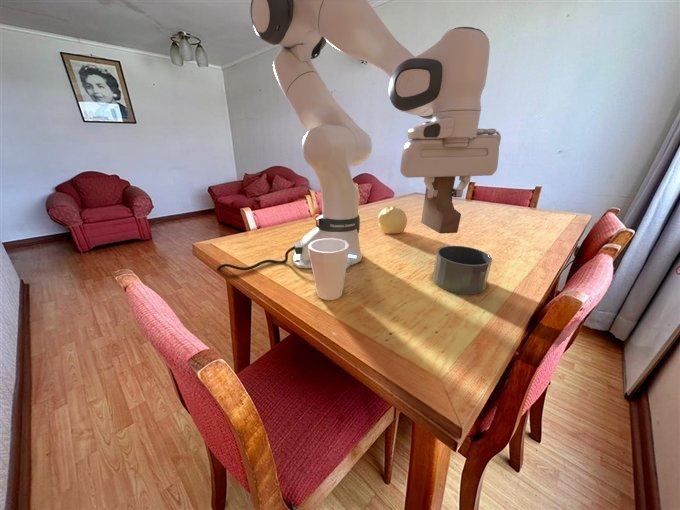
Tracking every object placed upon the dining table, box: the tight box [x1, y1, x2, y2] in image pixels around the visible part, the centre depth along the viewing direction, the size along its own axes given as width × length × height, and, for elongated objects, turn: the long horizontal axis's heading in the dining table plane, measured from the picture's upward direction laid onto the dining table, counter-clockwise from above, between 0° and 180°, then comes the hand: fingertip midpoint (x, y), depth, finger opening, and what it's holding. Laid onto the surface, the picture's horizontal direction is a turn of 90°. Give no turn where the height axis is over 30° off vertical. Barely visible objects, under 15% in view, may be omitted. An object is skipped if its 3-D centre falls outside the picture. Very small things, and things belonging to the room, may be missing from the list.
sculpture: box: [377, 205, 408, 234], centre depth 109 cm, size 11×12×11 cm
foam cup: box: [308, 238, 349, 301], centre depth 64 cm, size 10×9×13 cm
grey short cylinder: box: [432, 244, 493, 296], centre depth 71 cm, size 17×13×8 cm
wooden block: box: [420, 176, 462, 234], centre depth 59 cm, size 9×4×18 cm, turn 12°
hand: (444, 197), depth 59 cm, fingers closed on wooden block, 4 cm apart
